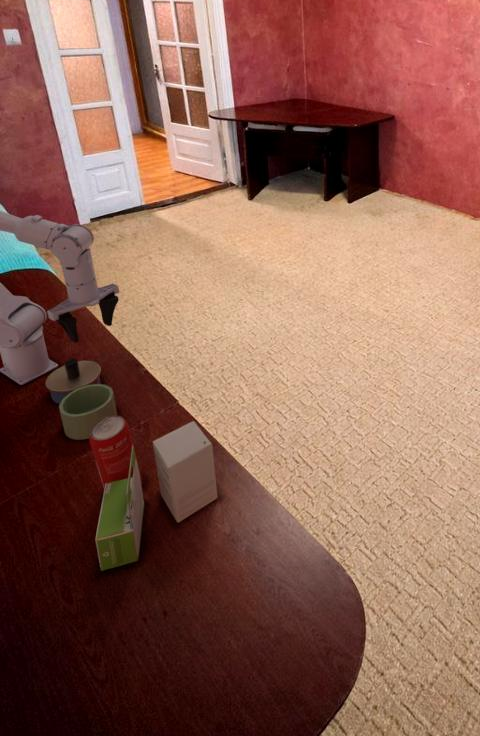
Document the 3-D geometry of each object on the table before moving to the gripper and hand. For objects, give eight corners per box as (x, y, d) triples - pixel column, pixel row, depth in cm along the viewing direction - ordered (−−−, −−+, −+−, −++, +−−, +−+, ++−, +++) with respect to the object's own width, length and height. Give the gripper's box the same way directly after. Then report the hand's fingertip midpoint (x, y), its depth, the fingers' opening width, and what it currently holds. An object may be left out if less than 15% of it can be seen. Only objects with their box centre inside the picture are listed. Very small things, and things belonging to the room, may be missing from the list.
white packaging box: (200, 472, 90) (195, 418, 86) (218, 498, 85) (213, 443, 81) (159, 495, 85) (151, 440, 81) (176, 525, 80) (168, 468, 76)
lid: (36, 384, 105) (32, 366, 103) (84, 359, 113) (80, 342, 112) (63, 401, 100) (59, 383, 99) (111, 374, 109) (108, 357, 107)
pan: (42, 394, 106) (39, 381, 105) (85, 371, 114) (82, 359, 112) (67, 410, 102) (64, 397, 101) (109, 385, 110) (107, 372, 108)
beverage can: (149, 477, 88) (139, 412, 83) (127, 509, 82) (114, 441, 77) (118, 472, 89) (106, 408, 83) (94, 504, 83) (79, 437, 77)
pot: (54, 427, 97) (49, 404, 95) (99, 400, 105) (95, 378, 103) (82, 446, 94) (76, 422, 92) (126, 417, 101) (122, 394, 99)
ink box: (110, 513, 81) (98, 449, 77) (145, 503, 83) (135, 441, 78) (100, 573, 72) (85, 505, 68) (140, 561, 74) (128, 494, 70)
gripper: (56, 299, 98) (69, 354, 103) (123, 271, 110) (132, 322, 115) (37, 290, 101) (50, 344, 106) (104, 264, 113) (113, 314, 118)
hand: (91, 332), depth 111 cm, fingers open, 7 cm apart
